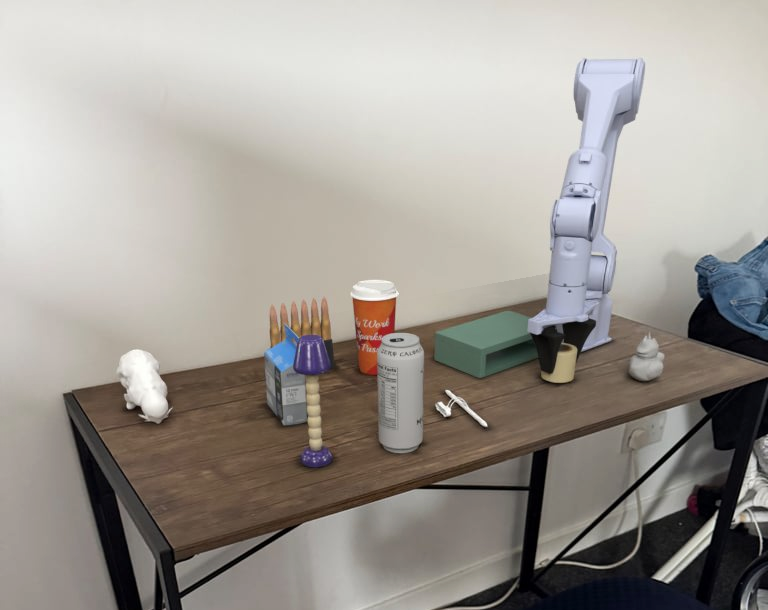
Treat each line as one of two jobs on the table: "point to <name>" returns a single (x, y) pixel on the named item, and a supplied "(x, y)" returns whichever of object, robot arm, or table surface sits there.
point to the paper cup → (373, 319)
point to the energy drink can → (400, 392)
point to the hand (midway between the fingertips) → (558, 367)
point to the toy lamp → (313, 395)
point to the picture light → (446, 410)
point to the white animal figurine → (143, 384)
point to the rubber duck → (646, 360)
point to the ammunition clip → (303, 325)
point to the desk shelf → (486, 344)
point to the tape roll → (563, 365)
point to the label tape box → (285, 382)
